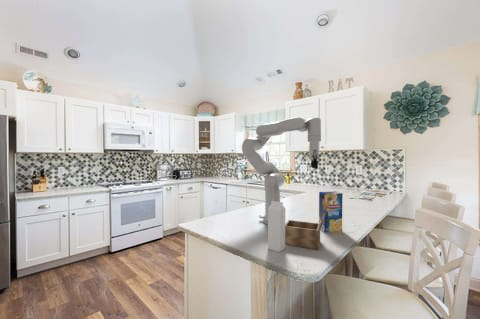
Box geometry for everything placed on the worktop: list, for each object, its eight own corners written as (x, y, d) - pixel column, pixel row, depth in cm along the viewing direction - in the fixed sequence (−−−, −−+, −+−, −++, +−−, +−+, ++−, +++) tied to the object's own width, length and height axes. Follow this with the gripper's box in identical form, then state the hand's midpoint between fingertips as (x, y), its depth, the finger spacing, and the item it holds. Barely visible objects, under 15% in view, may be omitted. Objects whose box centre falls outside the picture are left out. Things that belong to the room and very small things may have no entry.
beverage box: (342, 231, 132) (342, 193, 131) (324, 232, 130) (324, 193, 130) (335, 227, 139) (335, 191, 138) (318, 228, 137) (319, 191, 137)
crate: (283, 244, 111) (283, 226, 111) (288, 236, 122) (288, 219, 122) (318, 250, 105) (318, 230, 105) (320, 241, 116) (320, 223, 116)
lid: (328, 197, 103) (332, 198, 102) (329, 193, 114) (333, 194, 113) (318, 230, 104) (322, 231, 104) (320, 222, 116) (324, 224, 115)
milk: (273, 245, 111) (274, 199, 110) (285, 248, 107) (285, 201, 107) (267, 249, 106) (267, 201, 106) (279, 252, 102) (279, 203, 102)
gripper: (307, 140, 144) (307, 167, 144) (308, 137, 128) (308, 168, 128) (319, 139, 142) (319, 167, 143) (322, 137, 126) (322, 168, 126)
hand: (314, 167), depth 135 cm, fingers open, 9 cm apart
